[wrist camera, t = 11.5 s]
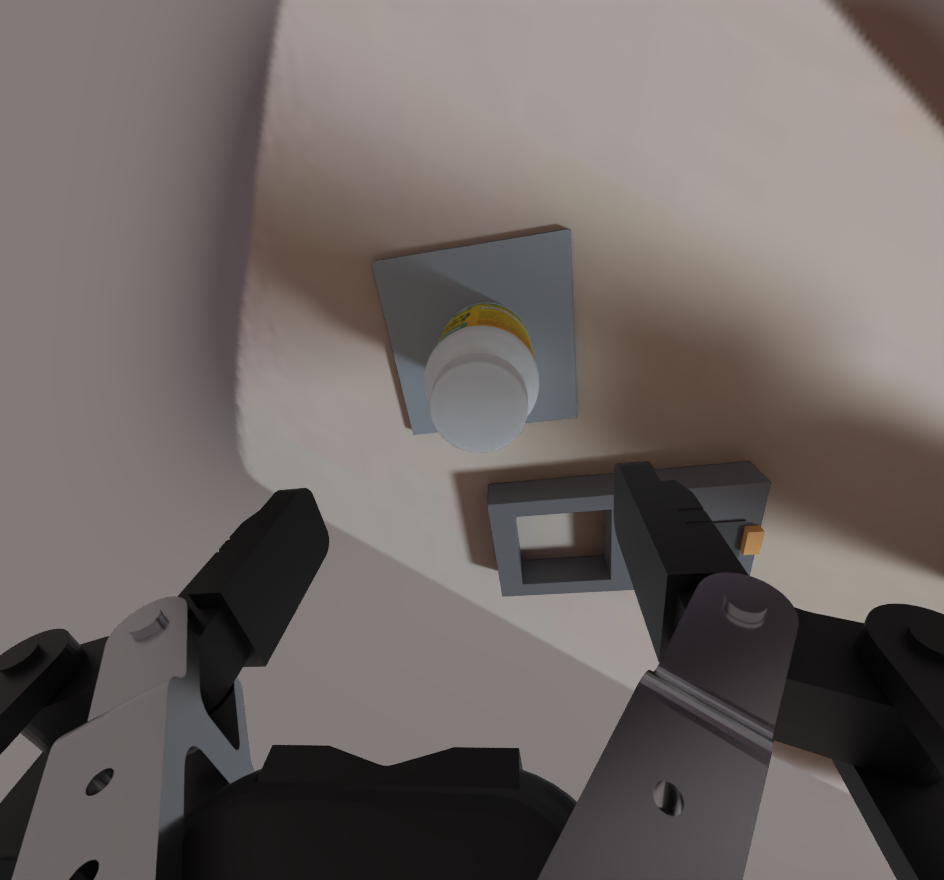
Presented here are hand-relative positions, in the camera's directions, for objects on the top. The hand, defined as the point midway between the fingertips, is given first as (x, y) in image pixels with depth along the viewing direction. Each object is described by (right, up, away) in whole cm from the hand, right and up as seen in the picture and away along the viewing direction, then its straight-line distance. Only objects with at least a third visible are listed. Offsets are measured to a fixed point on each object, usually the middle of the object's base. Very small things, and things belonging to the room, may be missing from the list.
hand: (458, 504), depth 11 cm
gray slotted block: (+11, -5, +20) cm, 24 cm away
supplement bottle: (+1, +8, +14) cm, 16 cm away
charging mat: (+1, +8, +14) cm, 16 cm away
